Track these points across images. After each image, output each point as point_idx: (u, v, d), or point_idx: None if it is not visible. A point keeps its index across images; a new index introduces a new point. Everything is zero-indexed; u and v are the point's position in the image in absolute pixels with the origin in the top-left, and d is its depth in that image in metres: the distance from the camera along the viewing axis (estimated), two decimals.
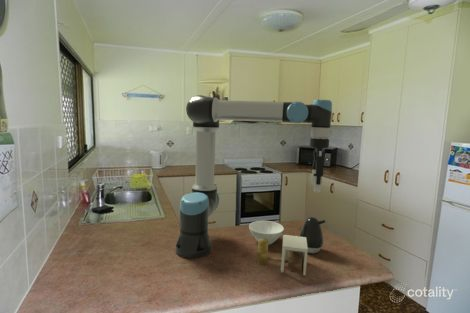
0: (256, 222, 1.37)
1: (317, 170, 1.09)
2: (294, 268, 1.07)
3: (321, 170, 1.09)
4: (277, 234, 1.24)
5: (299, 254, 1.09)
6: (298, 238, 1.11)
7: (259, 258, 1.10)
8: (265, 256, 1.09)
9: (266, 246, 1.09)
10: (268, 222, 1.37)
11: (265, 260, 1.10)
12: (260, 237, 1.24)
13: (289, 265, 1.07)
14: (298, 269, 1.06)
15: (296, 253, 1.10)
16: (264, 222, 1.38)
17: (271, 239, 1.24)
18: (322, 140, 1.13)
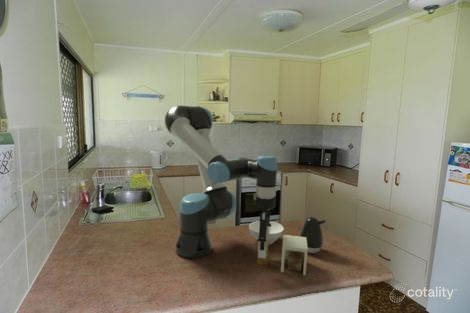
0: (256, 222, 1.37)
1: (259, 236, 1.00)
2: (294, 268, 1.07)
3: (264, 236, 1.00)
4: (277, 234, 1.24)
5: (299, 254, 1.09)
6: (298, 238, 1.11)
7: (259, 258, 1.10)
8: None
9: (266, 246, 1.09)
10: None
11: (265, 260, 1.10)
12: None
13: (289, 265, 1.07)
14: (298, 269, 1.06)
15: (296, 253, 1.10)
16: None
17: (271, 239, 1.24)
18: (266, 201, 1.04)
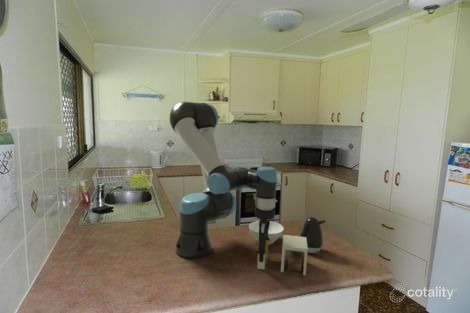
0: (256, 222, 1.37)
1: (259, 249, 1.03)
2: (294, 268, 1.07)
3: (263, 249, 1.02)
4: (277, 234, 1.24)
5: (299, 254, 1.09)
6: (298, 238, 1.11)
7: None
8: (265, 256, 1.09)
9: (266, 246, 1.09)
10: None
11: (265, 260, 1.10)
12: None
13: (289, 265, 1.07)
14: (298, 269, 1.06)
15: (296, 253, 1.10)
16: None
17: (271, 239, 1.24)
18: (266, 212, 1.05)
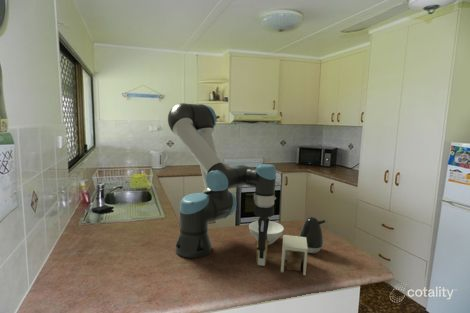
0: (256, 222, 1.37)
1: (259, 246, 1.05)
2: (293, 268, 1.07)
3: (263, 246, 1.05)
4: (277, 234, 1.24)
5: (298, 254, 1.09)
6: (298, 238, 1.11)
7: None
8: None
9: (265, 246, 1.09)
10: None
11: None
12: None
13: (288, 265, 1.07)
14: (297, 269, 1.06)
15: (295, 253, 1.10)
16: None
17: (271, 239, 1.24)
18: (265, 209, 1.05)
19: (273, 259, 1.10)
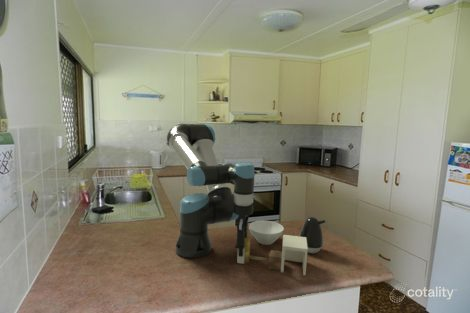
0: (256, 222, 1.37)
1: (237, 244, 1.06)
2: (275, 267, 1.07)
3: (241, 244, 1.05)
4: (277, 234, 1.24)
5: (281, 253, 1.09)
6: (298, 238, 1.11)
7: None
8: (246, 254, 1.10)
9: (247, 244, 1.10)
10: (268, 222, 1.37)
11: (247, 258, 1.10)
12: (260, 237, 1.24)
13: (270, 264, 1.07)
14: (279, 268, 1.06)
15: (278, 252, 1.10)
16: (264, 222, 1.38)
17: (271, 239, 1.24)
18: (243, 208, 1.05)
19: (255, 258, 1.10)
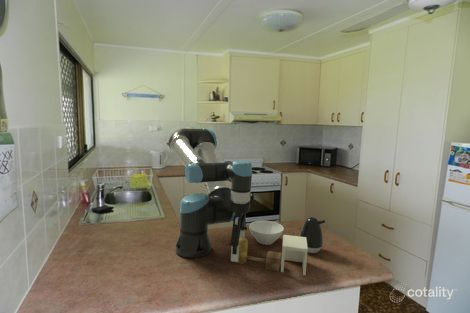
0: (256, 222, 1.37)
1: (231, 240, 1.02)
2: (272, 268, 1.06)
3: (236, 240, 1.01)
4: (277, 234, 1.24)
5: (278, 254, 1.08)
6: (298, 238, 1.11)
7: (238, 256, 1.10)
8: (244, 255, 1.10)
9: (245, 245, 1.09)
10: (268, 222, 1.37)
11: (244, 259, 1.10)
12: (260, 237, 1.24)
13: (267, 265, 1.06)
14: (276, 269, 1.06)
15: (275, 253, 1.09)
16: (264, 222, 1.38)
17: (271, 239, 1.24)
18: (240, 206, 1.05)
19: (253, 258, 1.10)
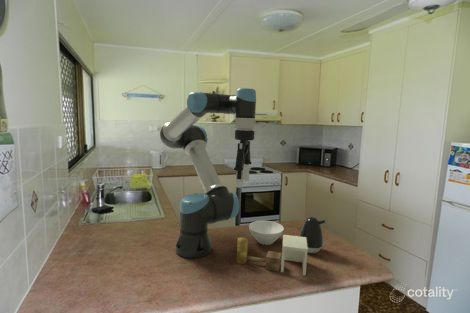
0: (256, 222, 1.37)
1: (236, 164, 1.02)
2: (272, 268, 1.06)
3: (240, 164, 1.01)
4: (277, 234, 1.24)
5: (278, 254, 1.08)
6: (298, 238, 1.11)
7: (238, 256, 1.10)
8: (244, 255, 1.10)
9: (245, 245, 1.09)
10: (268, 222, 1.37)
11: (244, 259, 1.10)
12: (260, 237, 1.24)
13: (267, 265, 1.06)
14: (276, 269, 1.06)
15: (275, 253, 1.09)
16: (264, 222, 1.38)
17: (271, 239, 1.24)
18: (245, 132, 1.05)
19: (253, 258, 1.10)
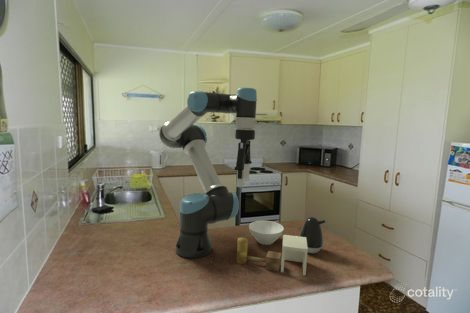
0: (256, 222, 1.37)
1: (237, 163, 1.02)
2: (272, 268, 1.06)
3: (241, 163, 1.01)
4: (277, 234, 1.24)
5: (278, 254, 1.08)
6: (298, 238, 1.11)
7: (238, 256, 1.10)
8: (244, 255, 1.10)
9: (245, 245, 1.09)
10: (268, 222, 1.37)
11: (244, 259, 1.10)
12: (260, 237, 1.24)
13: (267, 265, 1.06)
14: (276, 269, 1.06)
15: (275, 253, 1.09)
16: (264, 222, 1.38)
17: (271, 239, 1.24)
18: (245, 131, 1.05)
19: (253, 258, 1.10)
